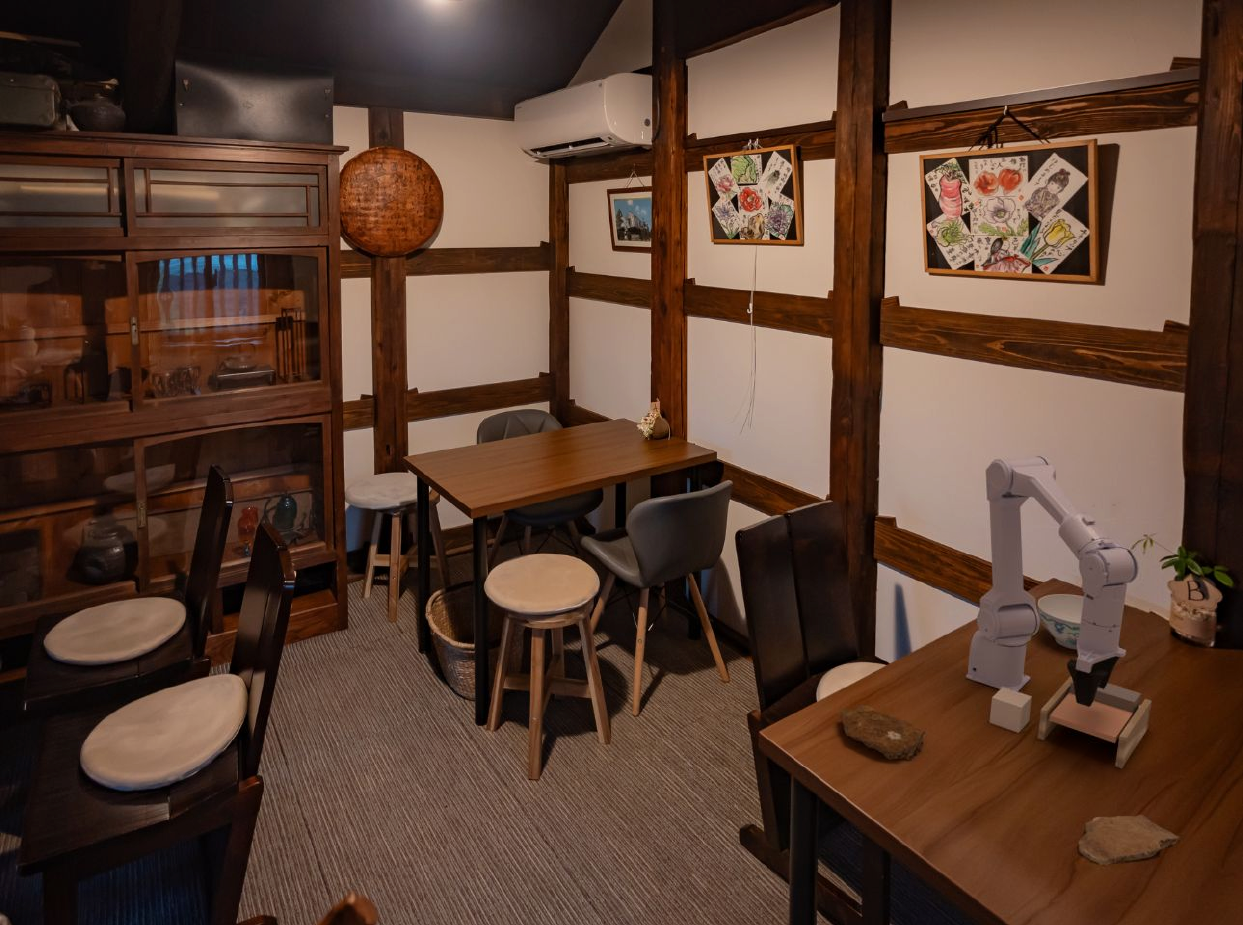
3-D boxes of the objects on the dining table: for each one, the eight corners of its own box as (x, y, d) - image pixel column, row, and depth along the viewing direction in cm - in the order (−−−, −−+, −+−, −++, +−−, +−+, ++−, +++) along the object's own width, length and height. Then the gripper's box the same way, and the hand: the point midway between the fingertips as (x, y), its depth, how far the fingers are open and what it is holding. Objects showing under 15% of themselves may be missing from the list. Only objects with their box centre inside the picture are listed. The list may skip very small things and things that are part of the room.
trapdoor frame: (1037, 738, 149) (1041, 709, 147) (1067, 703, 160) (1070, 675, 158) (1121, 768, 140) (1126, 738, 139) (1147, 729, 151) (1151, 700, 150)
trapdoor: (1049, 720, 147) (1051, 704, 146) (1076, 689, 157) (1078, 674, 156) (1114, 743, 140) (1117, 726, 139) (1138, 708, 150) (1140, 693, 149)
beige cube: (989, 722, 154) (992, 697, 153) (1000, 711, 157) (1002, 686, 156) (1018, 733, 151) (1021, 707, 149) (1028, 721, 154) (1031, 696, 153)
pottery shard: (1116, 888, 117) (1183, 843, 124) (1117, 873, 116) (1184, 828, 123) (1060, 851, 124) (1126, 810, 131) (1061, 836, 124) (1127, 796, 130)
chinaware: (1041, 621, 193) (1045, 588, 191) (1118, 637, 185) (1122, 604, 183) (1027, 647, 181) (1031, 613, 179) (1108, 666, 173) (1113, 630, 171)
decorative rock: (820, 739, 151) (902, 776, 141) (821, 719, 149) (904, 755, 140) (852, 709, 159) (932, 743, 149) (854, 690, 157) (934, 722, 148)
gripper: (1115, 642, 133) (1104, 721, 136) (1141, 612, 143) (1130, 686, 147) (1066, 628, 138) (1056, 705, 141) (1094, 600, 148) (1084, 673, 151)
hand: (1091, 695), depth 144 cm, fingers open, 7 cm apart
